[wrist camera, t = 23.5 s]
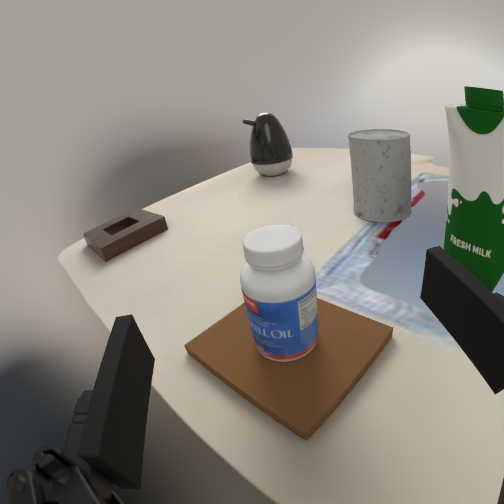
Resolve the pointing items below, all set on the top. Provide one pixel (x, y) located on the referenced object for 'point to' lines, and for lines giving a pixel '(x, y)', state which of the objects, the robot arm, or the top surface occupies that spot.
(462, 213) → the milk carton
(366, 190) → the concrete cylinder
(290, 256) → the pill bottle
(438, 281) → the robot arm
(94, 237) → the socket base
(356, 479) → the top surface
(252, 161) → the black egg-shaped figure
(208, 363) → the cork pad
